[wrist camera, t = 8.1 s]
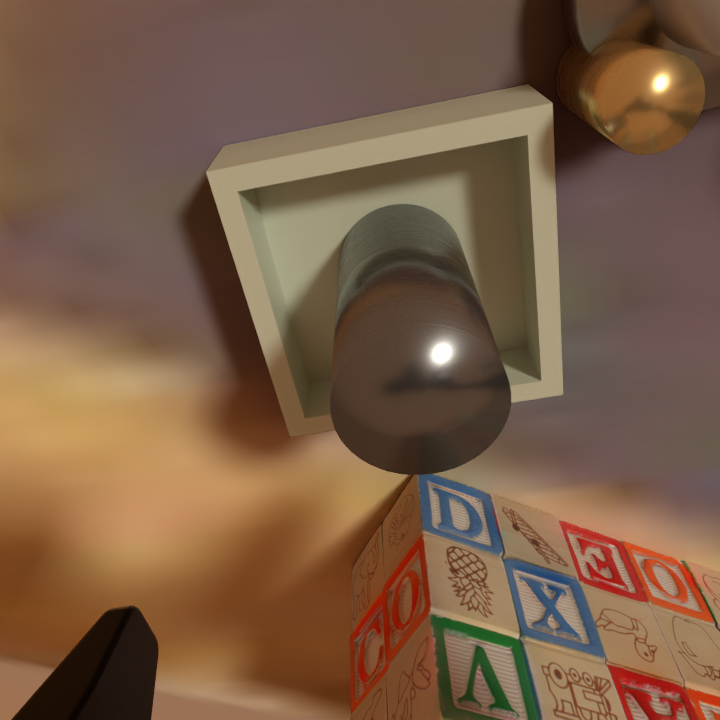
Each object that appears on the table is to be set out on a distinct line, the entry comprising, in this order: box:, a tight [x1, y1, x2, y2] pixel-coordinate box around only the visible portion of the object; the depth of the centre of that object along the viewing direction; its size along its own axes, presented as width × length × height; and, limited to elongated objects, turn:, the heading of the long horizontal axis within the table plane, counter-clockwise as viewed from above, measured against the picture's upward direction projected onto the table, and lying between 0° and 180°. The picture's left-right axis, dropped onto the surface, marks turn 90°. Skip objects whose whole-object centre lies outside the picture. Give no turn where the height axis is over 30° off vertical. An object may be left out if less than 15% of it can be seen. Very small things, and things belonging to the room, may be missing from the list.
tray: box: [206, 84, 563, 437], centre depth 18 cm, size 8×8×2 cm
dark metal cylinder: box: [330, 204, 511, 475], centre depth 16 cm, size 4×4×7 cm
